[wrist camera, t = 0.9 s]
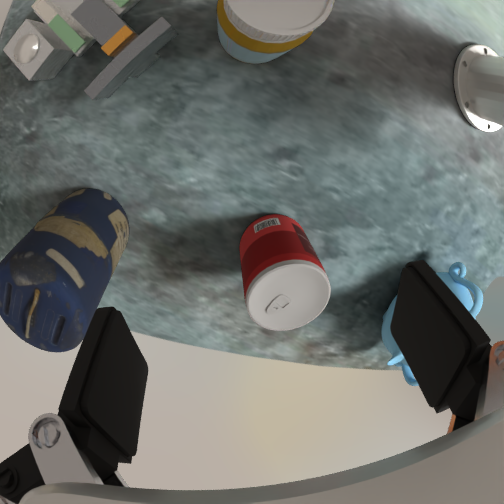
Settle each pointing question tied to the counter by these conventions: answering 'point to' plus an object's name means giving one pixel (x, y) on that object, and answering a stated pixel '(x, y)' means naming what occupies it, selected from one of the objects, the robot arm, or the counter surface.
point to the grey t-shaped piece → (120, 45)
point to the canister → (63, 270)
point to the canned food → (281, 274)
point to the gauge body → (53, 37)
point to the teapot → (461, 292)
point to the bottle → (267, 26)
